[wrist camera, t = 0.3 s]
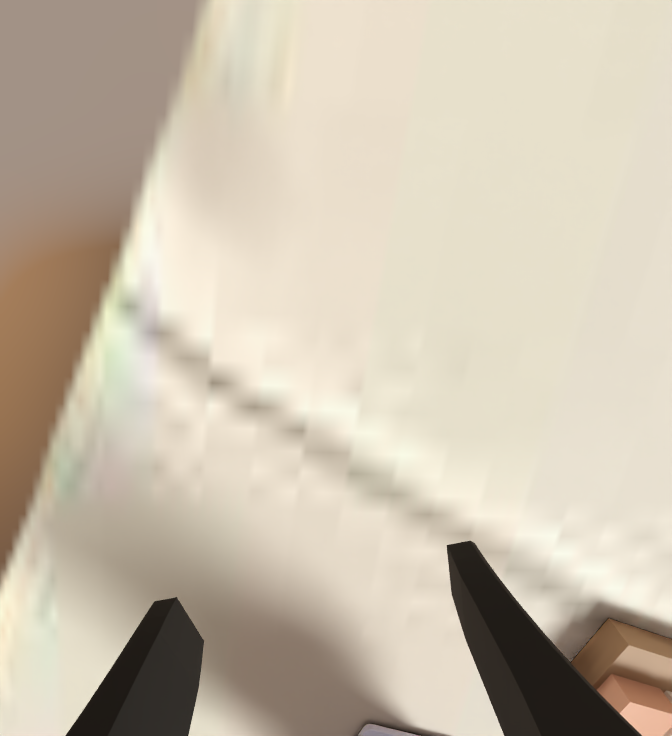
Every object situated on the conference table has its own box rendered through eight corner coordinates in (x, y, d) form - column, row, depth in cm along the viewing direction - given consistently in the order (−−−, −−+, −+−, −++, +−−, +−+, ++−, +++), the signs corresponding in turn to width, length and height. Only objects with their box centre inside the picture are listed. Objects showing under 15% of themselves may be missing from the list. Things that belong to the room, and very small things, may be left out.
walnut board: (635, 742, 30) (654, 773, 29) (527, 713, 29) (540, 744, 27) (722, 655, 27) (749, 683, 26) (608, 618, 26) (628, 645, 24)
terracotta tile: (623, 726, 27) (642, 756, 25) (575, 713, 26) (591, 743, 24) (660, 688, 26) (681, 716, 24) (611, 673, 25) (630, 702, 23)
